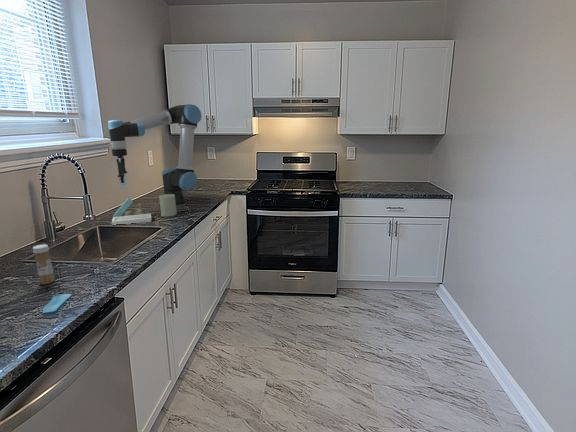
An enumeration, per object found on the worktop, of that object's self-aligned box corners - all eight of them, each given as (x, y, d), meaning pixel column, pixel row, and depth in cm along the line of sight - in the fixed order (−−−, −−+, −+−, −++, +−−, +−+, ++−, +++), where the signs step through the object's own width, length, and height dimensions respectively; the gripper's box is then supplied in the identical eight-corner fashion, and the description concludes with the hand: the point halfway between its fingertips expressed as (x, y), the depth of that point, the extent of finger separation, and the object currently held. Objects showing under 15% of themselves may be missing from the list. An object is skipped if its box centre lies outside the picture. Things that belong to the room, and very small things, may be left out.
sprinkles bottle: (37, 284, 130) (29, 248, 126) (45, 279, 134) (38, 244, 131) (50, 284, 130) (42, 248, 126) (57, 279, 134) (50, 243, 130)
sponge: (33, 314, 109) (54, 310, 109) (53, 295, 120) (72, 291, 121) (35, 318, 109) (55, 314, 110) (55, 299, 121) (73, 296, 121)
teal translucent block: (142, 215, 221) (140, 203, 219) (142, 217, 217) (140, 204, 215) (126, 217, 218) (124, 204, 216) (125, 218, 214) (123, 206, 212)
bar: (132, 200, 217) (128, 197, 216) (132, 202, 213) (127, 199, 212) (118, 217, 217) (113, 214, 216) (117, 220, 212) (113, 216, 211)
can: (164, 217, 216) (162, 197, 213) (158, 214, 223) (156, 194, 219) (179, 214, 221) (177, 194, 218) (173, 211, 228) (171, 192, 225)
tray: (151, 217, 216) (150, 213, 215) (151, 221, 207) (150, 217, 206) (113, 221, 210) (113, 217, 209) (112, 226, 200) (111, 221, 200)
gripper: (113, 147, 216) (118, 183, 222) (109, 150, 194) (115, 190, 199) (127, 146, 219) (132, 182, 224) (124, 149, 196) (130, 189, 202)
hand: (124, 186), depth 212 cm, fingers open, 12 cm apart
